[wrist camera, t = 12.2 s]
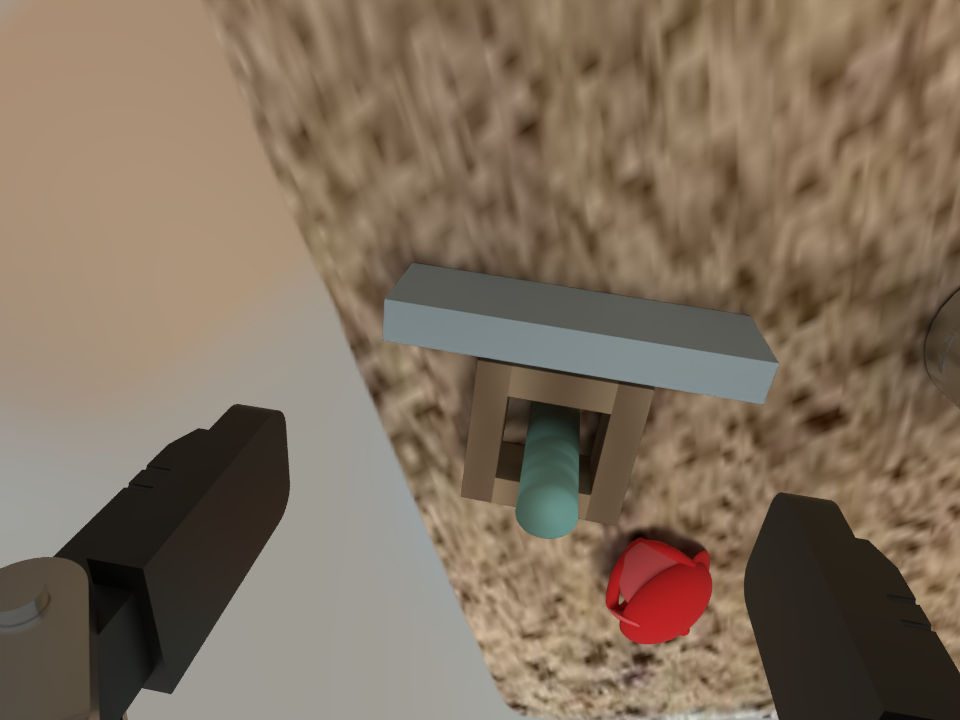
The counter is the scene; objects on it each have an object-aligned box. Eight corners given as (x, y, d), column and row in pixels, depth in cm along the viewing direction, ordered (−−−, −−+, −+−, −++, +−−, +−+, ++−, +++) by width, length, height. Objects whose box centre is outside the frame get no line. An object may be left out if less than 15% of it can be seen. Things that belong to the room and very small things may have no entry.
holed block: (648, 357, 38) (654, 390, 35) (613, 486, 43) (616, 526, 39) (487, 331, 39) (477, 360, 35) (470, 459, 44) (460, 496, 40)
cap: (606, 638, 45) (687, 681, 41) (586, 605, 41) (673, 649, 38) (652, 545, 49) (730, 576, 45) (638, 505, 45) (722, 536, 41)
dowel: (584, 396, 40) (583, 496, 31) (574, 437, 42) (571, 543, 33) (534, 387, 40) (520, 484, 32) (527, 428, 42) (511, 532, 33)
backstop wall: (750, 316, 36) (778, 363, 31) (738, 352, 37) (763, 404, 32) (412, 262, 38) (384, 299, 32) (410, 299, 39) (382, 340, 34)
